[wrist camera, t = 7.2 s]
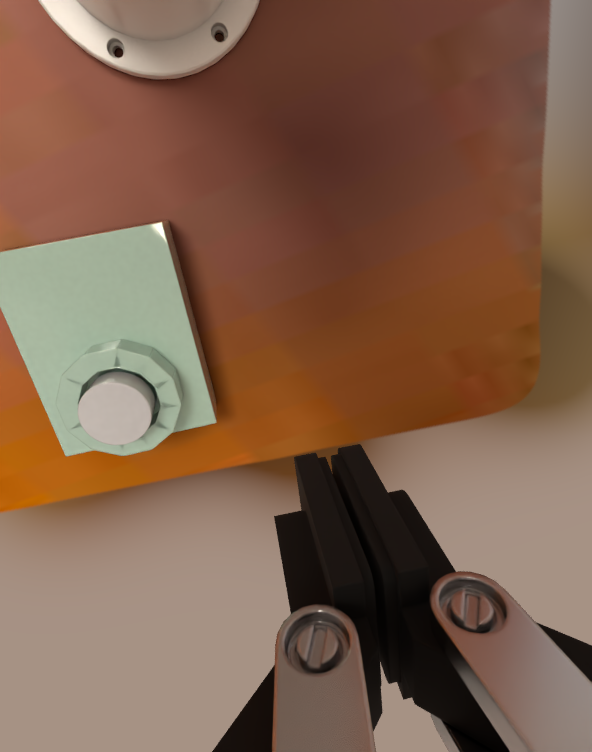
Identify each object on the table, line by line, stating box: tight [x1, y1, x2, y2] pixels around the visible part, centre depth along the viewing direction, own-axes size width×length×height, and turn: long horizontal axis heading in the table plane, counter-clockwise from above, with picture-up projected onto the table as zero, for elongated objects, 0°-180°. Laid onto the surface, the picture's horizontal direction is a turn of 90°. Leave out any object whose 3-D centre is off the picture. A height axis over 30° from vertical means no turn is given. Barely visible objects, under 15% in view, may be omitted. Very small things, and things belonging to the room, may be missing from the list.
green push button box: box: [0, 220, 217, 456], centre depth 28 cm, size 13×10×5 cm
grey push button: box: [78, 372, 155, 445], centre depth 26 cm, size 4×4×2 cm
